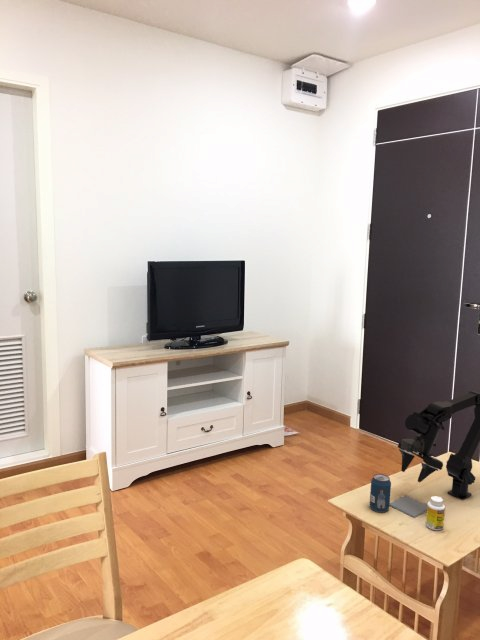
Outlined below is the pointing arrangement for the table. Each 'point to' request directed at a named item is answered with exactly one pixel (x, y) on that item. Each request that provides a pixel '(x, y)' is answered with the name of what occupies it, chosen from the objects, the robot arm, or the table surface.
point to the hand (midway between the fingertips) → (410, 476)
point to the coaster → (409, 506)
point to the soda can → (380, 493)
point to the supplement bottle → (435, 513)
